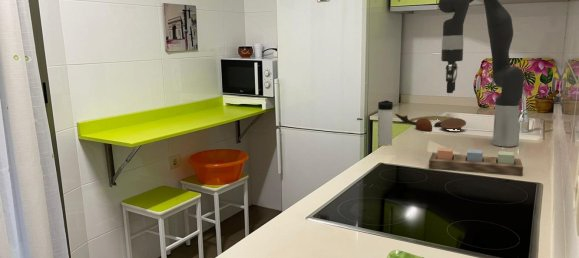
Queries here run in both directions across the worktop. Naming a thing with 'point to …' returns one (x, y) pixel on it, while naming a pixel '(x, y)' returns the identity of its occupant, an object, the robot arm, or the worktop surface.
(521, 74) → the robot arm
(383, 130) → the travel mug
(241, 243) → the worktop surface
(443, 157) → the terracotta button
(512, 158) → the sage green button
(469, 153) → the slate blue button
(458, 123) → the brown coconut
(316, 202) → the worktop surface
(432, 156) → the button panel
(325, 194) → the worktop surface
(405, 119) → the tree branch
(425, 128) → the potato
